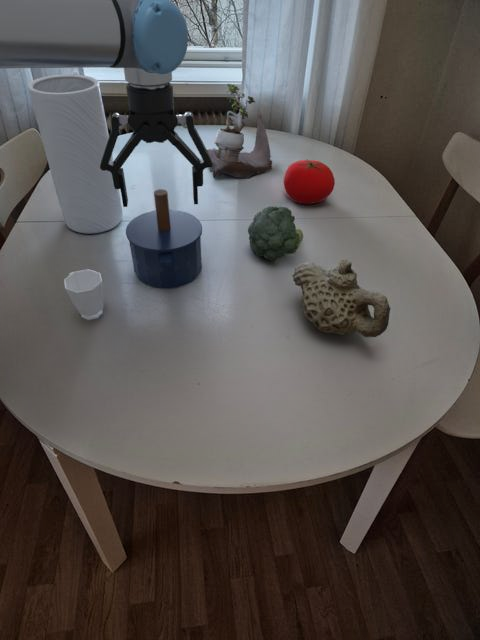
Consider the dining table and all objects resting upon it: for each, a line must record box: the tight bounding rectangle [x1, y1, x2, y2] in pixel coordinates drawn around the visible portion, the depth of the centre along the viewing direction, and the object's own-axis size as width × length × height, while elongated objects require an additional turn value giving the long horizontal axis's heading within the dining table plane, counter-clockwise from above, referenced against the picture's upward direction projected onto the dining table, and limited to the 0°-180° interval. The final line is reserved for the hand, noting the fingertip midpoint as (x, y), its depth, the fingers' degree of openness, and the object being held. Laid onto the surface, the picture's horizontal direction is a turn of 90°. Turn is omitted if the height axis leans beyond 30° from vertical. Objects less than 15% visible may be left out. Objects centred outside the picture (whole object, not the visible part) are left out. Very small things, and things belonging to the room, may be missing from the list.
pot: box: [128, 236, 203, 290], centre depth 92 cm, size 15×20×10 cm
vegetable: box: [247, 205, 304, 262], centre depth 98 cm, size 12×13×15 cm
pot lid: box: [125, 188, 203, 252], centre depth 86 cm, size 16×16×9 cm
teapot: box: [292, 258, 391, 338], centre depth 78 cm, size 21×12×15 cm, turn 40°
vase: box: [27, 74, 124, 235], centre depth 98 cm, size 14×14×32 cm
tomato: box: [283, 159, 336, 205], centre depth 118 cm, size 14×13×10 cm
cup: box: [63, 268, 104, 321], centre depth 82 cm, size 7×10×8 cm
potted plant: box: [207, 82, 273, 180], centre depth 131 cm, size 20×19×25 cm
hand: (161, 202), depth 84 cm, fingers open, 13 cm apart
